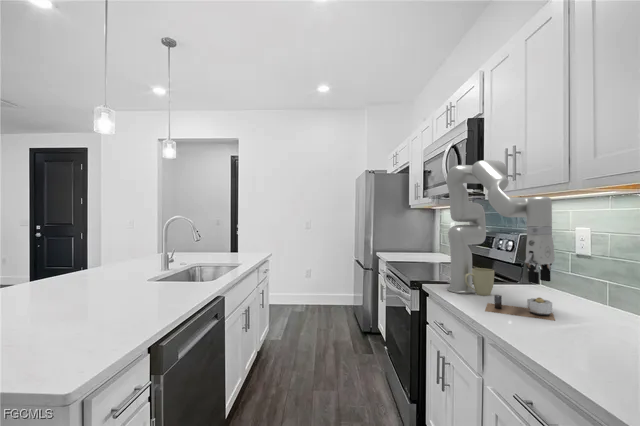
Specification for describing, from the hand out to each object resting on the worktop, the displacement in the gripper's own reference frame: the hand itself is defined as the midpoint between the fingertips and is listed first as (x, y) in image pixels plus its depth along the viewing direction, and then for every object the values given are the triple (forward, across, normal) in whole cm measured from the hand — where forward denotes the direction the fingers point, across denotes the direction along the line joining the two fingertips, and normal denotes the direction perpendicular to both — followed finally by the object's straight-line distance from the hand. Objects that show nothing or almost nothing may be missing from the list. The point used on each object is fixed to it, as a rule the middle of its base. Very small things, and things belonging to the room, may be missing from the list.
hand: (539, 281), depth 115 cm
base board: (+13, -3, +6) cm, 14 cm away
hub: (+11, 0, 0) cm, 11 cm away
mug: (+13, +8, +28) cm, 32 cm away
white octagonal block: (+10, 0, 0) cm, 10 cm away
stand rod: (+11, -6, +11) cm, 17 cm away
